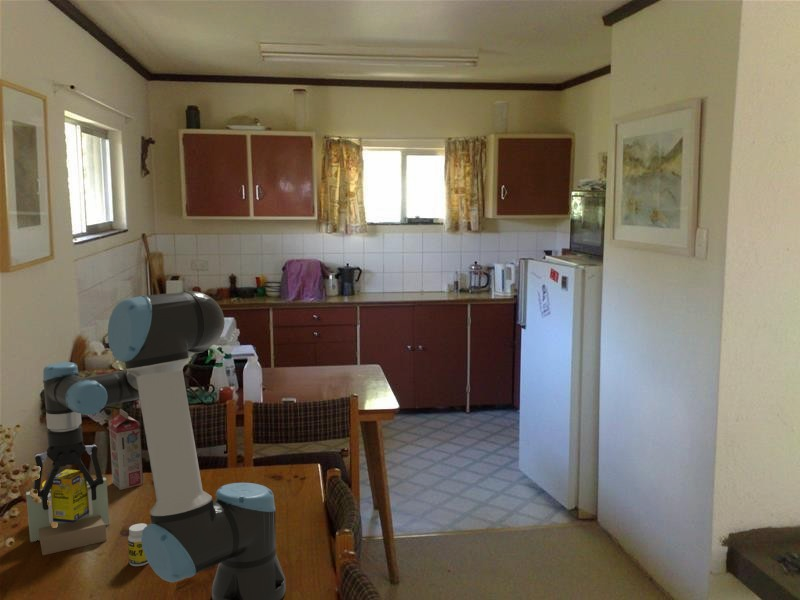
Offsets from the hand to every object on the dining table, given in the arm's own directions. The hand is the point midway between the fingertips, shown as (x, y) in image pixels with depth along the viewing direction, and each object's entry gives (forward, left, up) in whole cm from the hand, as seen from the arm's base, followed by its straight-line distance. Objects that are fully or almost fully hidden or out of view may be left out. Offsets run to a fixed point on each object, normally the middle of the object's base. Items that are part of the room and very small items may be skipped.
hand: (71, 516), depth 172 cm
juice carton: (+30, -18, -6) cm, 35 cm away
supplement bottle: (-20, -12, -6) cm, 24 cm away
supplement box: (0, 0, 0) cm, 0 cm away
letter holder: (0, 0, -6) cm, 6 cm away
